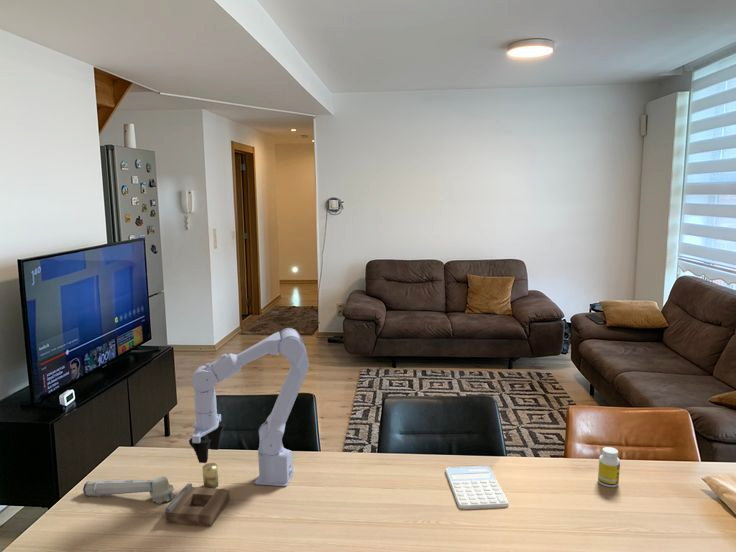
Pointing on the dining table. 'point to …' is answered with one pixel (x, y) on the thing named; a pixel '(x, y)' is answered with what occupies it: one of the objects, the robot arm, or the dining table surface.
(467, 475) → the calculator
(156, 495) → the grey long knobbed part
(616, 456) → the supplement bottle
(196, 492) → the jig
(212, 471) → the tan cylinder
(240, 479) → the dining table surface
